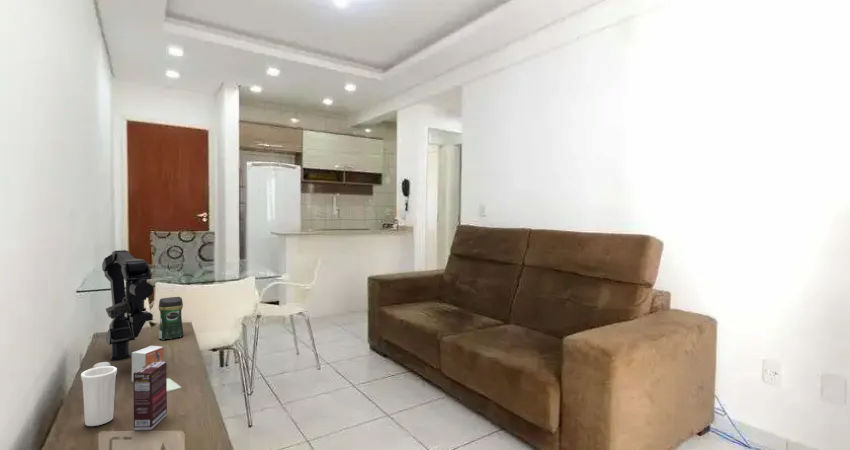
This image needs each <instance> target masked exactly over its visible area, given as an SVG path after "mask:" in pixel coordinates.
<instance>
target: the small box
mask: <svg viewBox="0 0 850 450" xmlns="http://www.w3.org/2000/svg"><path fill="white" fill-rule="evenodd" d="M150 362H164V346H160V345H159V346H158V345H149V346H146V347H144V348H142V349H138V350H136V351H133V352H131V383H132V384H134V382H133V381H134V380H133V379H134V378H133V373H134V372H136V371H137V370H139V369H140V368H142V367H144V366H145V365H147V364H148V363H150Z"/></svg>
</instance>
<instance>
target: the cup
mask: <svg viewBox="0 0 850 450" xmlns="http://www.w3.org/2000/svg"><path fill="white" fill-rule="evenodd" d="M117 373H118V368H117V367H115V366H114V365H113V366H112V365H111V366H102V367H96V368H93V367H92V368H88V369H87V370H84V371H83V372H81V373H80V379H81V381H82V395H83V412H84V426H87V427H95V426H100V425H103V424H107V423H108V422H110V421H112V420H113V419H114V411H115V410H114V408H115V395H116V394H115V391H116V375H117Z"/></svg>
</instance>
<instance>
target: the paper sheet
mask: <svg viewBox="0 0 850 450" xmlns="http://www.w3.org/2000/svg"><path fill="white" fill-rule="evenodd" d="M179 389H182V386H180V385H179V384H178V383H176V382H175V381H174V380H172V379H171V378H170V377H169V378H167V393H168V392H172V391H176V390H179Z"/></svg>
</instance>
